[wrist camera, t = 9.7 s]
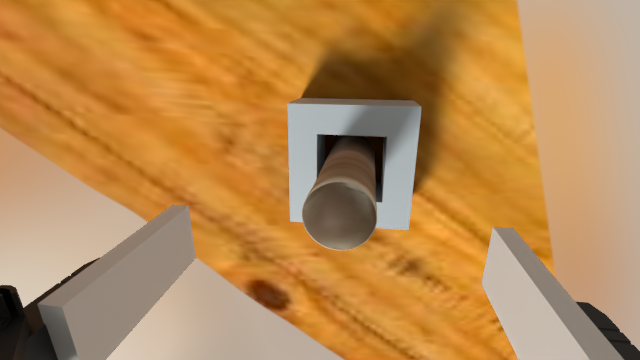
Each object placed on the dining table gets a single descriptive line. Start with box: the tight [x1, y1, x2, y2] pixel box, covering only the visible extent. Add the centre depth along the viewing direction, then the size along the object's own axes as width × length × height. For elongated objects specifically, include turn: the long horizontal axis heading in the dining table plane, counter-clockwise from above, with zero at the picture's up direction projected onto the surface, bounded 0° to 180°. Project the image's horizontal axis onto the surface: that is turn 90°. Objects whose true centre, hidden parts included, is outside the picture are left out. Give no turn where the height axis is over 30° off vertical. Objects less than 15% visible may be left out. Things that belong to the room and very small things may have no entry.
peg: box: [302, 135, 377, 250], centre depth 25 cm, size 4×4×14 cm
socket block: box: [287, 98, 422, 230], centre depth 29 cm, size 10×10×5 cm
